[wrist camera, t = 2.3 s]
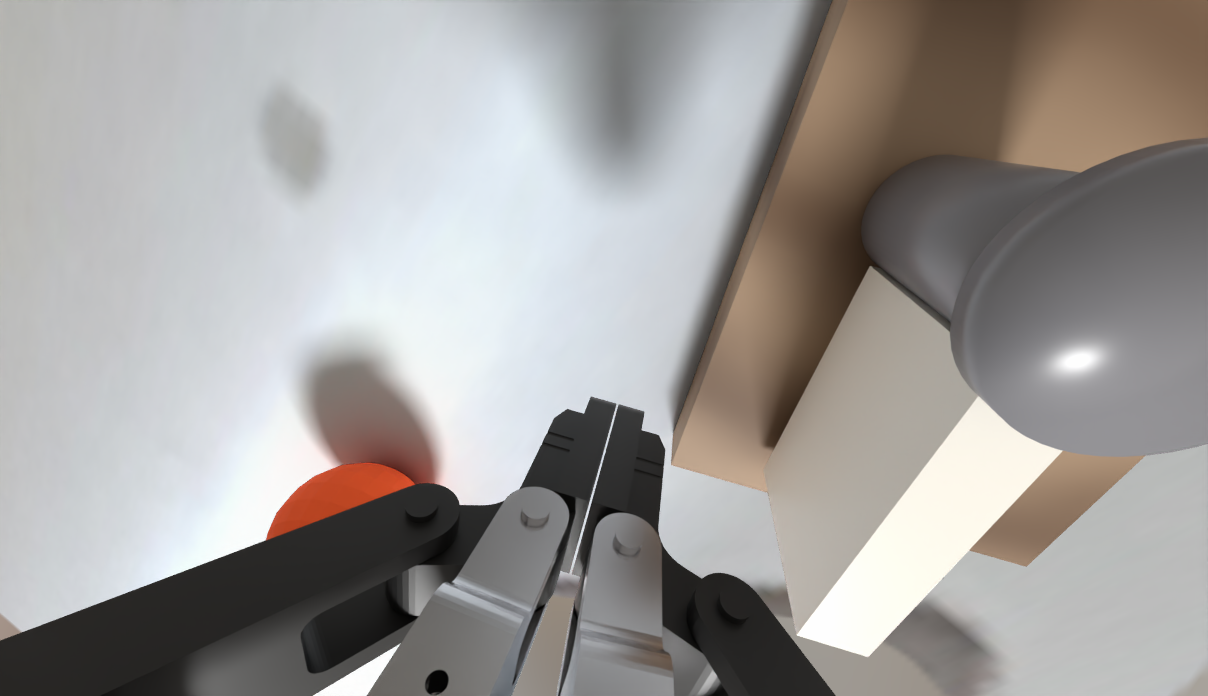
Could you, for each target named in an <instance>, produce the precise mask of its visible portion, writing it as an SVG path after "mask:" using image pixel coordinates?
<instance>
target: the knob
mask: <svg viewBox="0 0 1208 696" xmlns="http://www.w3.org/2000/svg"><path fill="white" fill-rule="evenodd" d="M861 236H862V242H863V245H864V248H865V250H866V252H867V254H868V256H869V257H870V258H871V259H872V261H873V262H875V263H876V264H877V265H878V266H879V267H880V268H877V267H873V266H870V267H869V269H868V270H867V272H866V274H865V276H864V278H863V280H862V282H861V284H860V286H859V288H858V290H857V292H856V293H855V295H854V297H853V299H852V301H851V303H850V305H849V307H848V309H847V311H846V313H845V314H844V316H843V318H842V320H841V322H840V324H839V326H838V328H837V330H836V332H835V334H834V336H833V337H832V339H831V341H830V343H829V345H828V347H827V349H826V351H825V353H824V355H823V357H822V359H821V360H820V362H819V364H818V366H817V368H816V370H815V372H814V374H813V376H812V378H811V380H810V381H809V383H808V385H807V387H806V389H805V391H804V393H803V395H802V397H801V399H800V401H799V403H798V404H797V406H796V408H795V410H794V412H793V414H792V416H791V418H790V420H789V422H788V424H787V426H786V427H785V429H784V431H783V433H782V435H781V437H780V439H779V441H778V443H777V445H776V447H775V448H774V450H773V452H772V454H771V456H770V458H769V460H768V462H767V464H766V466H765V468H764V470H763V471H764V476H765V481H766V486H767V491H768V496H769V501H770V506H771V511H772V516H773V521H774V526H775V531H776V536H777V541H778V546H779V551H780V556H781V561H782V566H783V571H784V576H785V580H786V585H787V590H788V595H789V600H790V605H791V610H792V615H793V620H794V625H795V630H796V635H797V636H801V637H804V638H807V639H811V640H814V641H817V642H820V643H824V644H827V645H830V646H833V647H837V648H840V649H844V650H847V651H850V652H854V653H857V654H860V655H863V656H866V657H869V655H870V654H871V653H872V652H873V651H874V650H875V649H876V648H877V647H878V646H879V645H880V644H881V643H882V642H883V641H884V640H885V639H886V637H887V636H888V635H889V634H890V633H891V632H892V631H893V630H894V629H895V628H896V627H897V626H898V625H899V624H900V623H901V622H902V621H903V619H904V618H905V617H906V616H907V615H908V614H909V613H910V612H911V611H912V610H913V609H914V608H915V607H916V606H917V605H918V604H919V603H920V602H921V600H922V599H923V598H924V597H925V596H926V595H927V594H928V593H929V592H930V591H931V590H932V589H933V588H934V587H935V586H936V585H937V584H938V582H939V581H940V580H941V579H942V578H943V577H944V576H945V575H946V574H947V573H948V572H949V571H950V570H951V569H952V568H953V567H954V566H955V564H956V563H957V562H958V561H959V560H960V559H961V558H962V557H963V556H964V555H965V554H966V553H967V552H968V551H969V550H970V549H971V548H972V546H973V545H974V544H975V543H976V542H977V541H978V540H979V539H980V538H981V537H982V536H983V535H984V534H985V533H986V532H987V531H988V530H989V528H990V527H991V526H992V525H993V524H994V523H995V522H996V521H997V520H998V519H999V518H1000V517H1001V516H1002V515H1003V514H1004V513H1005V512H1006V510H1007V509H1008V508H1009V507H1010V506H1011V505H1012V504H1013V503H1014V502H1015V501H1016V500H1017V499H1018V498H1019V497H1020V496H1021V495H1022V494H1023V492H1024V491H1025V490H1026V489H1027V488H1028V487H1029V486H1030V485H1031V484H1032V483H1033V482H1034V481H1035V480H1036V479H1037V478H1038V477H1039V476H1040V474H1041V473H1042V472H1043V471H1044V470H1045V469H1046V468H1047V467H1048V466H1049V465H1050V464H1051V463H1052V462H1053V461H1054V460H1055V459H1056V458H1057V456H1058V455H1059V454H1060V453H1061V452H1062V451H1067V452H1072V453H1076V454H1083V455H1092V456H1106V457H1129V456H1146V455H1154V454H1161V453H1168V452H1174V451H1179V450H1184V449H1189V448H1193V447H1198V446H1202V445H1205V444H1208V138H1198V139H1187V140H1178V141H1173V142H1168V143H1163V144H1158V145H1154V146H1149V147H1146V148H1142V149H1139V150H1136V151H1133V152H1129V153H1126V154H1123V155H1120V156H1117V157H1115V158H1112V159H1110V160H1108V161H1105V162H1103V163H1100V164H1098V165H1095V166H1093V167H1091V168H1089V169H1087V170H1085V171H1083V172H1074V171H1067V170H1060V169H1053V168H1045V167H1038V166H1031V165H1023V164H1016V163H1009V162H1002V161H994V160H987V159H980V158H972V157H965V156H958V155H935V156H930V157H926V158H922V159H920V160H917V161H914V162H912V163H910V164H908V165H906V166H904V167H903V168H901V169H899V170H898V171H896V172H895V173H894V174H892V175H891V176H890V177H889V178H888V179H886V180H885V181H884V182H883V183H882V184H881V186H880V187H879V188H878V189H877V190H876V192H875V193H874V194H873V196H872V197H871V199H870V201H869V203H868V205H867V207H866V209H865V212H864V215H863V219H862V225H861ZM881 268H882V269H881Z"/></svg>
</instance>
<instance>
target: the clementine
mask: <svg viewBox="0 0 1208 696" xmlns="http://www.w3.org/2000/svg"><path fill="white" fill-rule="evenodd" d="M412 485H415V483H414V482H413V481H412V480H411V479H409V478H408V477H407V476H406V475H404V474H403V473H401V472H399V471H397V470H395V469H393V468H390V467H387V466H384V465H382V464H376V463H369V462H368V463H357V464H346V465H341V466H338V467H336V468H333V469H331V470H328V471H326V472H323V473H321V474H319V475H316V476H314V477H313V478H311V479H310V480H309V481H307V482H306V483H305V484H303V485H302V486H300V487H299V488H298V489H297V490H296V491H295V492H294V493H293V494H292V495H291V496H290V497H289V499H288V500H287V501H286V502H285V503H284V505H283V506H282V507H281V508H280V509H279V511H278V512H277V513H276V516H275V518H274V520H273V522H272V524H271V527H270V529H269V531H268V534H267V538H266V540H268V539H271V538H274V537H276V536H279V535H282V534H284V533H287V532H290V531H292V530H295V529H298V528H300V527H303V526H305V525H308V524H311V523H313V522H316V521H319V520H321V519H324V518H327V517H329V516H332V515H335V514H337V513H340V512H343V511H345V510H348V509H351V508H353V507H356V506H358V505H361V504H364V503H366V502H369V501H372V500H374V499H377V498H380V497H382V496H385V495H388V494H390V493H393V492H396V491H398V490H401V489H404V488H406V487H409V486H412Z"/></svg>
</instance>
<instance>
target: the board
mask: <svg viewBox="0 0 1208 696" xmlns="http://www.w3.org/2000/svg"><path fill="white" fill-rule="evenodd" d="M1198 138H1208V0H832V3H831V5H830V8H829V11H828V14H827V16H826V19H825V22H824V24H823V27H822V30H821V33H820V35H819V38H818V41H817V44H816V46H815V49H814V52H813V54H812V57H811V60H810V63H809V65H808V68H807V71H806V73H805V76H804V79H803V82H802V84H801V87H800V90H799V93H798V95H797V98H796V101H795V103H794V106H793V109H792V112H791V114H790V117H789V120H788V122H787V125H786V128H785V131H784V133H783V136H782V139H781V142H780V144H779V147H778V150H777V152H776V155H775V158H774V161H773V163H772V166H771V169H770V172H769V174H768V177H767V180H766V182H765V185H764V188H763V191H762V193H761V196H760V199H759V201H758V204H757V207H756V210H755V212H754V215H753V218H752V221H751V223H750V226H749V229H748V231H747V234H746V237H745V240H744V242H743V245H742V248H741V250H740V253H739V256H738V259H737V261H736V264H735V267H734V270H733V272H732V275H731V278H730V280H729V283H728V286H727V289H726V291H725V294H724V297H723V299H722V302H721V305H720V308H719V310H718V313H717V316H716V319H715V321H714V324H713V327H712V329H711V332H710V335H709V338H708V340H707V343H706V346H705V348H704V351H703V354H702V357H701V359H700V362H699V365H698V368H697V370H696V373H695V376H694V378H693V381H692V384H691V387H690V389H689V392H688V395H687V397H686V400H685V403H684V406H683V408H682V411H681V414H680V417H679V419H678V422H677V425H676V427H675V430H674V433H673V443H672V459H671V465H673V466H676V467H680V468H683V469H687V470H690V471H694V472H697V473H701V474H704V475H708V476H711V477H715V478H718V479H722V480H725V481H729V482H732V483H736V484H739V485H743V486H746V487H750V488H753V489H757V490H760V491H764V492H767V493H768V491H767V486H766V481H765V476H764V471H763V470H764V468H765V466H766V464H767V462H768V460H769V458H770V456H771V454H772V452H773V450H774V448H775V447H776V445H777V443H778V441H779V439H780V437H781V435H782V433H783V431H784V429H785V427H786V426H787V424H788V422H789V420H790V418H791V416H792V414H793V412H794V410H795V408H796V406H797V404H798V403H799V401H800V399H801V397H802V395H803V393H804V391H805V389H806V387H807V385H808V383H809V381H810V380H811V378H812V376H813V374H814V372H815V370H816V368H817V366H818V364H819V362H820V360H821V359H822V357H823V355H824V353H825V351H826V349H827V347H828V345H829V343H830V341H831V339H832V337H833V336H834V334H835V332H836V330H837V328H838V326H839V324H840V322H841V320H842V318H843V316H844V314H845V313H846V311H847V309H848V307H849V305H850V303H851V301H852V299H853V297H854V295H855V293H856V292H857V290H858V288H859V286H860V284H861V282H862V280H863V278H864V276H865V274H866V272H867V270H868V269H869V267H870V266H873V267H877V268H880V267H879V266H878V265H877V264H876V263H875V262H873V261H872V259H871V258H870V257H869V256H868V254H867V252H866V250H865V248H864V245H863V242H862V236H861V225H862V219H863V215H864V212H865V209H866V207H867V205H868V203H869V201H870V199H871V197H872V196H873V194H874V193H875V192H876V190H877V189H878V188H879V187H880V186H881V184H882V183H883V182H884V181H885V180H886V179H888V178H889V177H890V176H891V175H892V174H894V173H895V172H896V171H898V170H899V169H901V168H903V167H904V166H906V165H908V164H910V163H912V162H914V161H917V160H920V159H922V158H926V157H930V156H935V155H958V156H965V157H972V158H980V159H987V160H994V161H1002V162H1009V163H1016V164H1023V165H1031V166H1038V167H1045V168H1053V169H1060V170H1067V171H1074V172H1083V171H1085V170H1087V169H1089V168H1091V167H1093V166H1095V165H1098V164H1100V163H1103V162H1105V161H1108V160H1110V159H1112V158H1115V157H1117V156H1120V155H1123V154H1126V153H1129V152H1133V151H1136V150H1139V149H1142V148H1146V147H1149V146H1154V145H1158V144H1163V143H1168V142H1173V141H1178V140H1187V139H1198ZM881 269H882V268H881ZM1143 457H1144V456H1129V457H1106V456H1092V455H1083V454H1076V453H1072V452H1067V451H1062V452H1061V453H1060V454H1059V455H1058V456H1057V458H1056V459H1055V460H1054V461H1053V462H1052V463H1051V464H1050V465H1049V466H1048V467H1047V468H1046V469H1045V470H1044V471H1043V472H1042V473H1041V474H1040V476H1039V477H1038V478H1037V479H1036V480H1035V481H1034V482H1033V483H1032V484H1031V485H1030V486H1029V487H1028V488H1027V489H1026V490H1025V491H1024V492H1023V494H1022V495H1021V496H1020V497H1019V498H1018V499H1017V500H1016V501H1015V502H1014V503H1013V504H1012V505H1011V506H1010V507H1009V508H1008V509H1007V510H1006V512H1005V513H1004V514H1003V515H1002V516H1001V517H1000V518H999V519H998V520H997V521H996V522H995V523H994V524H993V525H992V526H991V527H990V528H989V530H988V531H987V532H986V533H985V534H984V535H983V536H982V537H981V538H980V539H979V540H978V541H977V542H976V543H975V544H974V545H973V546H972V548H971V549H970V551H973V552H977V553H980V554H984V555H987V556H991V557H994V558H998V559H1001V560H1005V561H1008V562H1012V563H1015V564H1019V565H1022V566H1028V565H1029V564H1030V563H1031V562H1032V561H1033V560H1034V559H1035V558H1036V557H1037V556H1038V555H1039V554H1040V553H1041V552H1043V551H1044V550H1045V549H1046V548H1047V547H1048V546H1049V545H1050V544H1051V543H1052V542H1053V541H1054V540H1055V539H1056V538H1058V537H1059V536H1060V535H1061V534H1062V533H1063V532H1064V531H1065V530H1066V529H1067V528H1068V527H1069V526H1070V525H1072V524H1073V523H1074V522H1075V521H1076V520H1077V519H1078V518H1079V517H1080V516H1081V515H1082V514H1083V513H1084V512H1085V511H1087V510H1088V509H1089V508H1090V507H1091V506H1092V505H1093V504H1094V503H1095V502H1096V501H1097V500H1098V499H1099V498H1100V497H1102V496H1103V495H1104V494H1105V493H1106V492H1107V491H1108V490H1109V489H1110V488H1111V487H1112V486H1113V485H1114V484H1115V483H1117V482H1118V481H1119V480H1120V479H1121V478H1122V477H1123V476H1124V475H1125V474H1126V473H1127V472H1128V471H1129V470H1131V469H1132V468H1133V467H1134V466H1135V465H1136V464H1137V463H1138V462H1139V461H1140V460H1141V459H1142V458H1143Z"/></svg>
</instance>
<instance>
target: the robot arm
mask: <svg viewBox="0 0 1208 696" xmlns="http://www.w3.org/2000/svg"><path fill="white" fill-rule="evenodd" d="M615 407H616V404H615V403H612V402H608V401H605V400H601V399H598V398H594V397H591V398H590V400H589V403H588V405H587V408H586V410H585V413H584V414H583V413H579V412H576V411H572V410H569V409H567V410H565V411H564V412H562V413H561V414H559V415H558V416H557V417H555V418H554V420H553V422H552V424H551V426H550V428H549V430H548V433H547V434H546V436H545V438H544V440H543V443H542V445H541V447H540V449H539V451H538V453H537V455H536V457H535V459H534V461H533V463H532V465H531V467H530V469H529V471H528V473H527V476H526V478H525V480H524V482H523V484H522V486H521V487H520V489H519V490H516V491H515V492H513V493H511V494H510V495H509V496H508V497H507V498H506V499H505V501H503V502H500V503H497V504H492V505H459V501H458V499H457V497H456V495H455V494H454V493H453V492H452V491H451V490H449V489H448V488H446V487H444V486H441V485H437V484H430V483H424V484H416V485H412V486H409V487H406V488H404V489H401V490H398V491H396V492H393V493H390V494H388V495H385V496H382V497H380V498H377V499H374V500H372V501H369V502H366V503H364V504H361V505H358V506H356V507H353V508H351V509H348V510H345V511H343V512H340V513H337V514H335V515H332V516H329V517H327V518H324V519H321V520H319V521H316V522H313V523H311V524H308V525H305V526H303V527H300V528H298V529H295V530H292V531H290V532H287V533H284V534H282V535H279V536H276V537H274V538H271V539H268V540H266V541H263V542H260V543H258V544H255V545H253V546H250V547H247V548H245V549H242V550H239V551H237V552H234V553H231V554H229V555H226V556H223V557H221V558H218V559H215V560H213V561H210V562H207V563H205V564H202V565H200V566H197V567H194V568H192V569H189V570H186V571H184V572H181V573H178V574H176V575H173V576H170V577H168V578H165V579H162V580H160V581H157V582H154V583H152V584H149V585H147V586H144V587H141V588H139V589H136V590H133V591H131V592H128V593H125V594H123V595H120V596H117V597H115V598H112V599H109V600H107V601H104V602H101V603H99V604H96V605H94V606H91V607H88V608H86V609H83V610H80V611H78V612H75V613H72V614H70V615H67V616H64V617H62V618H59V619H56V620H54V621H51V622H49V623H46V624H43V625H41V626H38V627H35V628H33V629H30V630H27V631H25V632H22V633H20V634H17V635H14V636H11V637H9V638H6V639H4V640H1V641H0V696H313V695H314V694H316V693H318V692H319V691H321V690H323V689H325V688H326V687H328V686H330V685H331V684H333V683H335V682H336V681H338V680H340V679H341V678H343V677H345V676H346V675H348V674H350V673H351V672H353V671H355V670H356V669H358V668H360V667H361V666H363V665H365V664H366V663H368V662H370V661H372V660H373V659H375V658H377V657H378V656H380V655H382V654H383V653H385V652H387V651H388V650H390V649H392V648H393V647H395V646H397V645H398V644H400V643H401V644H400V646H399V647H398V649H397V650H396V652H395V653H394V655H393V656H392V658H391V659H390V661H389V663H388V664H387V666H386V667H385V669H384V670H383V672H382V673H381V675H380V676H379V678H378V679H377V681H376V682H375V684H374V685H373V687H372V689H371V690H370V692H369V693H368V695H367V696H512V695H513V692H514V689H515V687H516V684H517V681H518V679H519V677H520V674H521V671H522V669H523V666H524V664H525V661H526V659H527V656H528V654H529V651H530V649H531V646H532V643H533V641H534V638H535V636H536V633H537V631H538V628H539V626H540V623H541V621H542V618H543V616H544V613H545V610H546V608H547V605H548V602H549V599H550V598H551V596H552V595H553V593H554V590H555V587H556V584H557V581H558V577H559V574H560V571H563V572H567V573H569V572H570V568H571V565H572V561H573V558H574V554H575V551H576V547H577V544H578V540H579V537H580V533H581V530H582V526H583V522H584V519H585V515H586V512H587V508H588V505H589V501H590V498H591V494H592V491H593V487H594V484H595V480H596V476H597V473H598V469H599V466H600V462H601V459H602V455H603V451H604V448H605V444H606V440H607V437H608V433H609V429H610V426H611V422H612V418H613V415H614V411H615ZM643 418H644V411H640V410H637V409H633V408H630V407H626V406H623V405H618V409H617V413H616V416H615V420H614V424H613V427H612V431H611V434H610V438H609V442H608V445H607V449H606V453H605V456H604V460H603V463H602V467H601V471H600V474H599V478H598V482H597V485H596V489H595V493H594V496H593V500H592V503H591V507H590V511H589V514H588V518H587V522H586V525H585V529H584V532H583V536H582V540H581V543H580V547H579V551H578V554H577V558H576V561H575V565H574V569H573V572H572V574H574V575H577V576H580V581H579V585H578V589H577V593H576V597H575V600H574V603H573V607H572V610H571V615H570V620H569V626H568V632H567V637H566V643H565V648H564V655H563V660H562V665H561V671H560V677H559V682H558V688H557V694H556V696H835V694H834V693H833V692H832V690H831V689H830V688H829V686H828V685H827V684H826V683H825V681H824V680H823V679H822V677H821V676H820V675H819V673H818V672H817V671H816V670H815V668H814V667H813V666H812V664H811V663H810V662H809V660H808V659H807V658H806V657H805V656H804V654H803V653H802V651H801V650H800V649H799V647H798V646H797V645H796V644H795V642H794V641H793V640H792V638H791V637H790V636H789V635H788V633H787V632H786V631H785V629H784V628H783V627H782V625H781V624H780V623H779V621H778V620H777V619H776V617H775V616H774V615H773V614H772V612H771V611H770V610H769V608H768V607H767V606H766V604H765V603H764V602H763V601H762V599H761V598H760V597H759V595H758V594H757V593H756V592H755V591H754V590H753V589H752V588H751V587H750V586H749V585H748V584H746V583H745V582H744V581H742V580H740V579H739V578H737V577H734V576H732V575H729V574H725V573H713V574H710V575H707V576H705V577H704V578H703V579H701V578H700V577H698V576H697V575H695V574H693V573H692V572H690V571H689V570H687V569H686V568H684V567H683V566H681V565H680V564H678V563H677V562H676V561H675V560H674V559H673V558H672V557H671V556H670V555H669V554H668V553H667V551H666V550H665V548H664V547H663V545H662V543H661V540H660V537H659V532H658V523H659V512H660V501H661V491H662V478H663V469H664V468H663V466H664V458H665V448H664V446H663V444H662V442H661V439H660V437H659V435H656V434H653V433H649V432H646V431H642V430H641V429H642V423H643Z"/></svg>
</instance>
